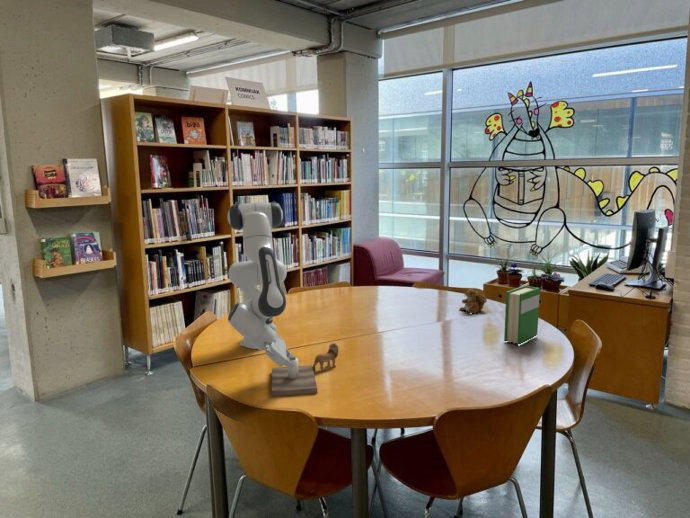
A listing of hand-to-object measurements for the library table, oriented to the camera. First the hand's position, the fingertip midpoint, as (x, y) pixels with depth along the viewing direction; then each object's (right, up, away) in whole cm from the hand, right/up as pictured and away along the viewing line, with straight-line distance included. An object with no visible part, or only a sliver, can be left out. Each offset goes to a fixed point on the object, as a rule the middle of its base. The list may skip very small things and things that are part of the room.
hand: (292, 362), depth 187 cm
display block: (0, -8, +1) cm, 8 cm away
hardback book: (+102, +1, +47) cm, 112 cm away
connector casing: (0, -6, +1) cm, 6 cm away
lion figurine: (+12, -5, +16) cm, 20 cm away
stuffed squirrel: (+92, +9, +97) cm, 134 cm away
